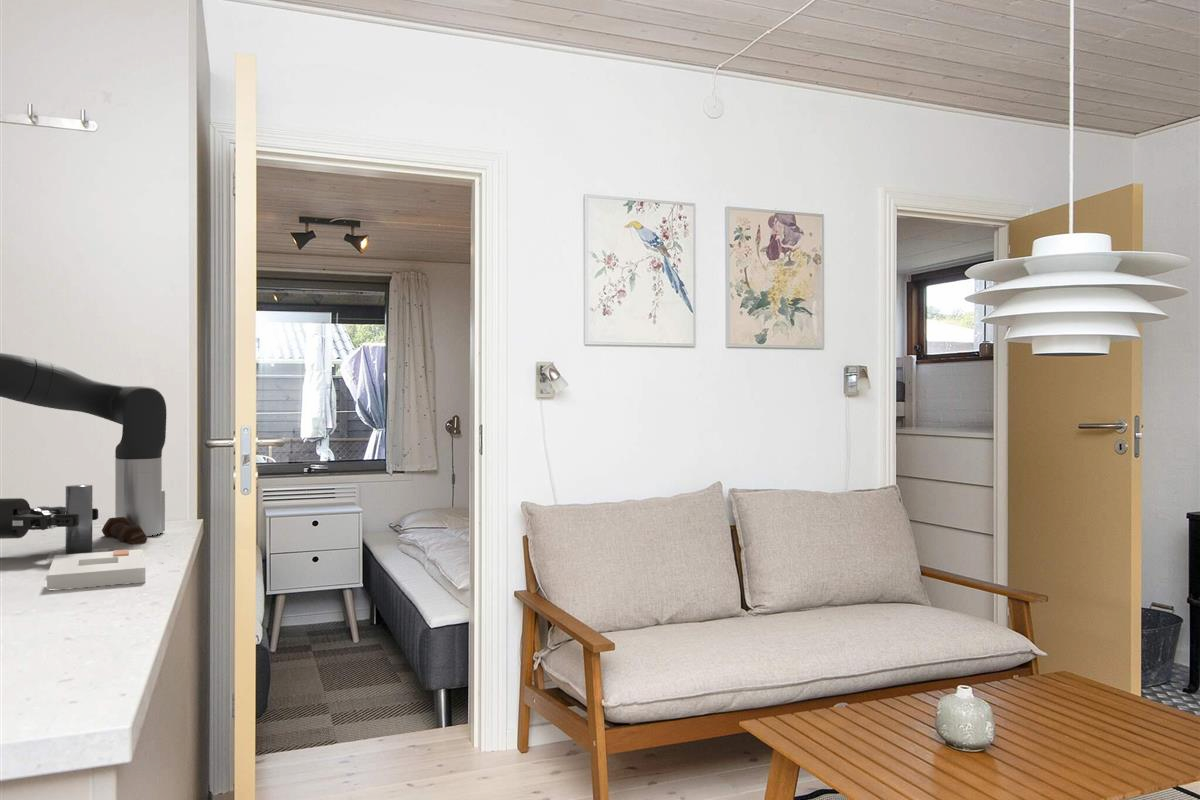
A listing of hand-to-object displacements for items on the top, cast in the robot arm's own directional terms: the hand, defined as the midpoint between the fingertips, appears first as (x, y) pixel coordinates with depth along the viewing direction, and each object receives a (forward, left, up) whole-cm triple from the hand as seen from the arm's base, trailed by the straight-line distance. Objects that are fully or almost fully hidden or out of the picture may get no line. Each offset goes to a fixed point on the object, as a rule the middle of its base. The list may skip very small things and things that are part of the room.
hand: (88, 517), depth 169 cm
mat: (+1, -2, -8) cm, 8 cm away
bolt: (-16, -7, -9) cm, 19 cm away
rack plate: (+12, +14, -8) cm, 20 cm away
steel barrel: (+1, -2, -7) cm, 7 cm away
